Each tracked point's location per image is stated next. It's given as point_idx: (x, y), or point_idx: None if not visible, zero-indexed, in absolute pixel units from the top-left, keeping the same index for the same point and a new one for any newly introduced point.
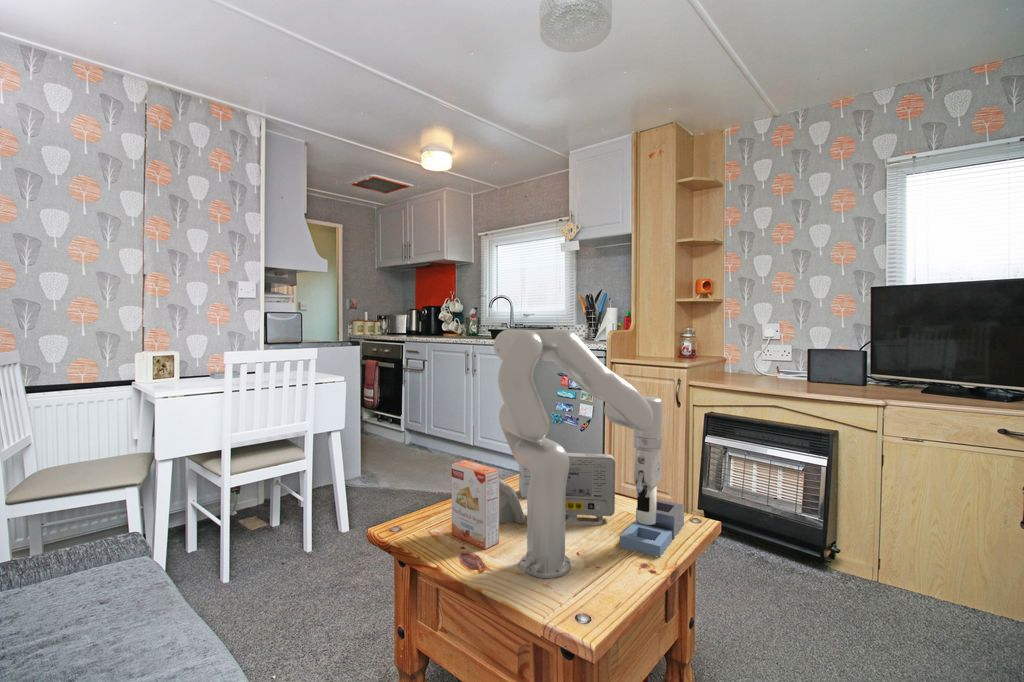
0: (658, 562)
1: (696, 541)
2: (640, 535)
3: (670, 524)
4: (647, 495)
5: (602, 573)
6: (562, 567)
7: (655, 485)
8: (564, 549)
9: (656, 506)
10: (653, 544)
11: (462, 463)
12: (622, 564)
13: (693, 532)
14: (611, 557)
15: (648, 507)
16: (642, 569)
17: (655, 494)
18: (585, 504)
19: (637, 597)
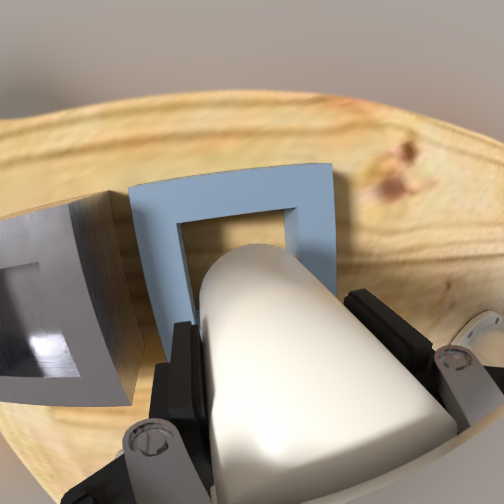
0: (348, 154)
1: (67, 113)
2: (194, 306)
3: (89, 216)
4: (458, 362)
5: (465, 259)
6: (487, 325)
7: (305, 472)
8: (500, 347)
9: (1, 349)
10: (333, 194)
11: None
12: (416, 245)
13: (4, 166)
14: (395, 292)
15: (379, 305)
16: (414, 183)
17: (347, 351)
18: (216, 499)
19: (498, 150)
